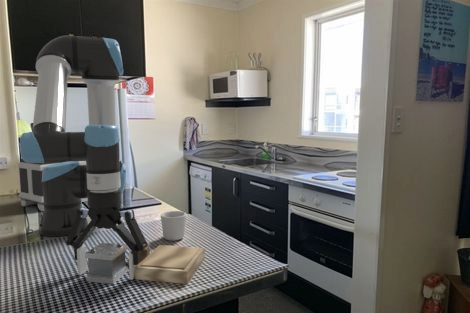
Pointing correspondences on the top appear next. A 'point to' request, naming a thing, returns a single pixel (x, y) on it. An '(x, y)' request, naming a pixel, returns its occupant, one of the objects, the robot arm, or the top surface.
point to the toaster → (34, 183)
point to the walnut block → (144, 253)
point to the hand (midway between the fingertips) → (107, 274)
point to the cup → (173, 225)
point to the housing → (106, 263)
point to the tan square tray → (170, 264)
